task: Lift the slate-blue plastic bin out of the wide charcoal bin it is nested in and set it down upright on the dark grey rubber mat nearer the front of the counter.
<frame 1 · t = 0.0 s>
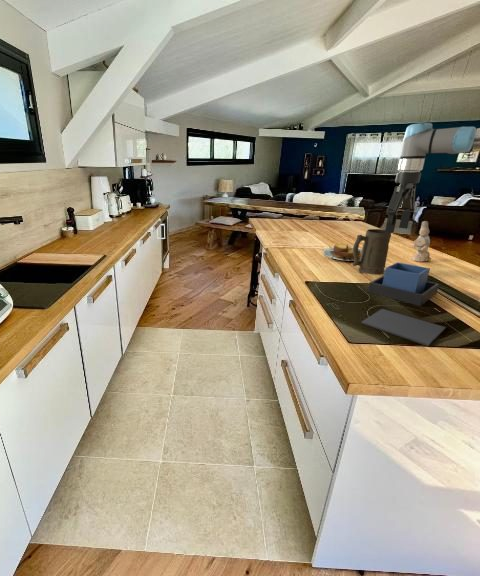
hand: (396, 230, 121), 23 cm above the table, tool pointing down, fingers open, 13 cm apart
charcoal bin: (401, 294, 121), on the table
figurine: (419, 260, 164), on the table
beer stein: (366, 273, 146), on the table
blue bin: (401, 292, 120), point 1 cm above the table, touching charcoal bin
mat: (403, 325, 97), on the table
food on plate: (346, 257, 172), on the table
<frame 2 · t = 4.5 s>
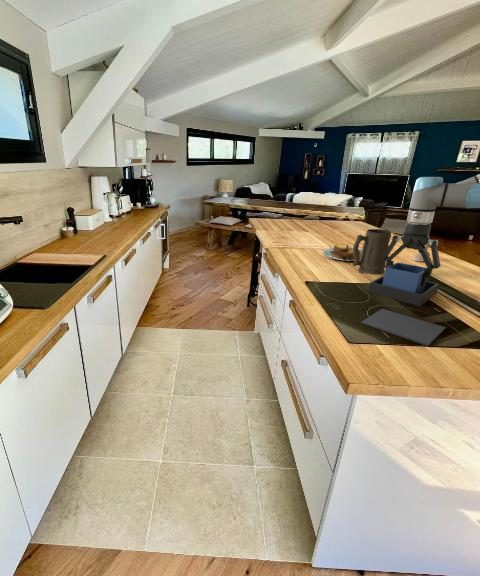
hand: (404, 281, 119), 6 cm above the table, tool pointing down, fingers closed on blue bin, 11 cm apart
blue bin: (401, 292, 120), point 1 cm above the table, touching charcoal bin, gripper
everything else where it was.
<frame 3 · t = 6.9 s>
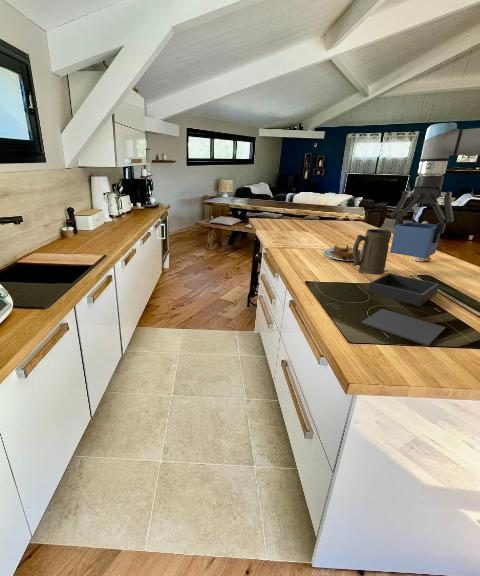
hand: (415, 239, 112), 22 cm above the table, tool pointing down, fingers closed on blue bin, 11 cm apart
blue bin: (412, 252, 114), point 17 cm above the table, touching gripper
everything else where it was.
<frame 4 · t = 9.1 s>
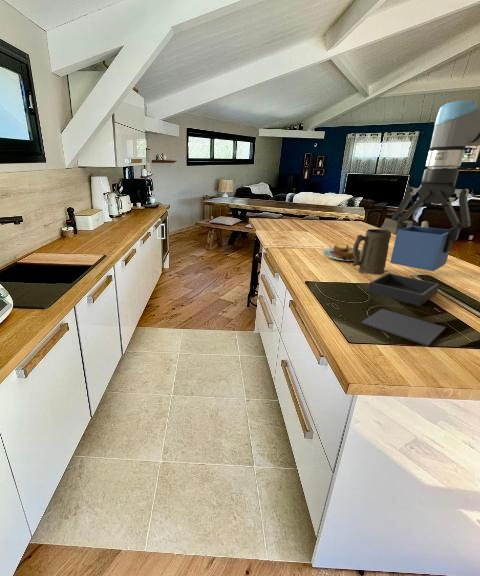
hand: (421, 248, 92), 24 cm above the table, tool pointing down, fingers closed on blue bin, 11 cm apart
blue bin: (417, 263, 93), point 19 cm above the table, touching gripper
everything else where it was.
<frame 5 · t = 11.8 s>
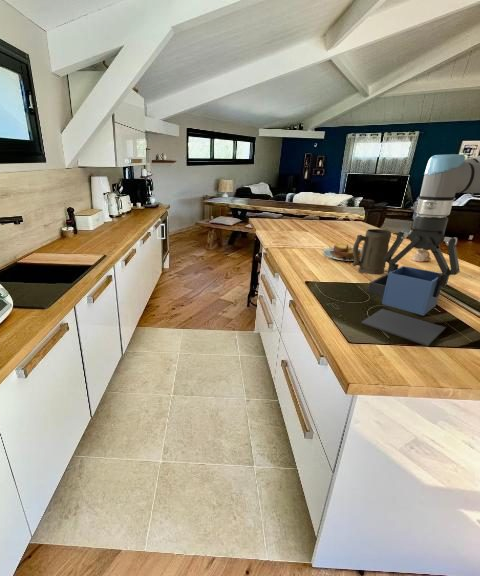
hand: (412, 290, 93), 12 cm above the table, tool pointing down, fingers closed on blue bin, 11 cm apart
blue bin: (408, 304, 95), point 7 cm above the table, touching gripper
everything else where it was.
when the fingers open (5 cm above the table, at t = 14.0 s): blue bin stays where it is, resting on mat.
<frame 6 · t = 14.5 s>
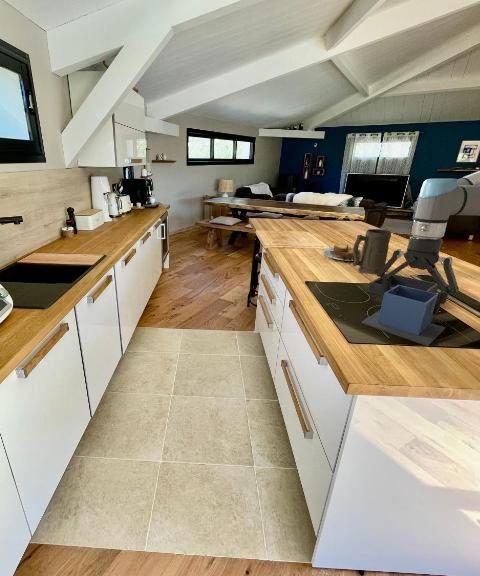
hand: (408, 305, 95), 7 cm above the table, tool pointing down, fingers open, 13 cm apart
blue bin: (404, 323, 97), point 1 cm above the table, touching mat
everything else where it was.
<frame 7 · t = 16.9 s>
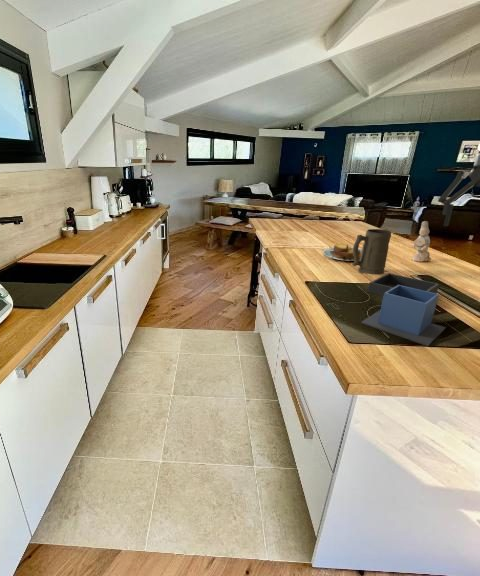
hand: (473, 228, 94), 29 cm above the table, tool pointing down, fingers open, 13 cm apart
nothing on the table moved.
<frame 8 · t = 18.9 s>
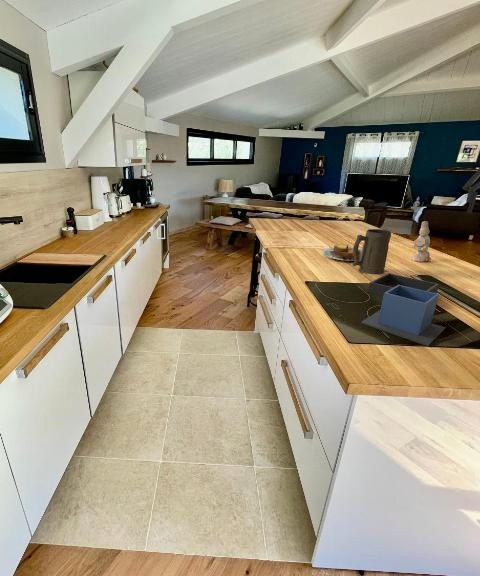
nothing on the table moved.
at the end: blue bin inside the target area on the mat (0.0 cm from its centre), point 0.6 cm above the mat's base; blue bin tilted 0°; blue bin touching mat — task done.
